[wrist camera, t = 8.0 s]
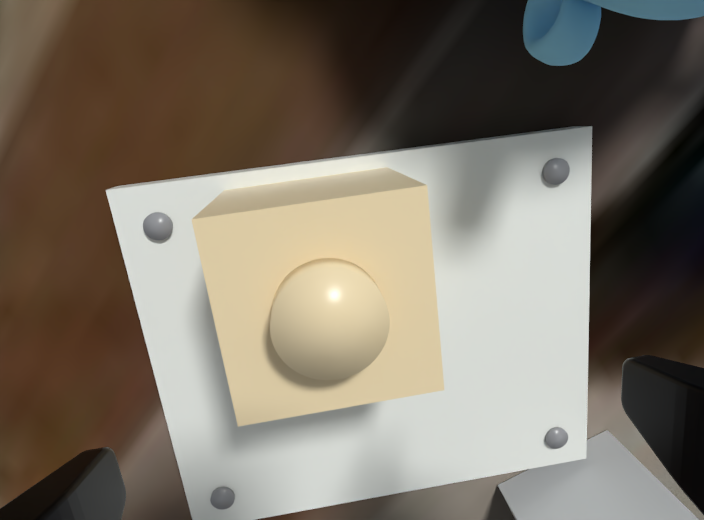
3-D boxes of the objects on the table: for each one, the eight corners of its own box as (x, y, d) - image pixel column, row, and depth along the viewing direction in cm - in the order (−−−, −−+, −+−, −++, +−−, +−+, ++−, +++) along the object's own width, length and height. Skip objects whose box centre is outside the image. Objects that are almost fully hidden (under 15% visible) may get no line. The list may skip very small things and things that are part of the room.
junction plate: (572, 442, 24) (649, 530, 18) (200, 509, 22) (171, 625, 17) (575, 126, 19) (675, 126, 14) (117, 186, 18) (46, 210, 13)
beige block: (402, 316, 20) (455, 409, 13) (254, 340, 19) (233, 449, 13) (387, 167, 18) (438, 190, 11) (224, 190, 17) (182, 227, 11)
